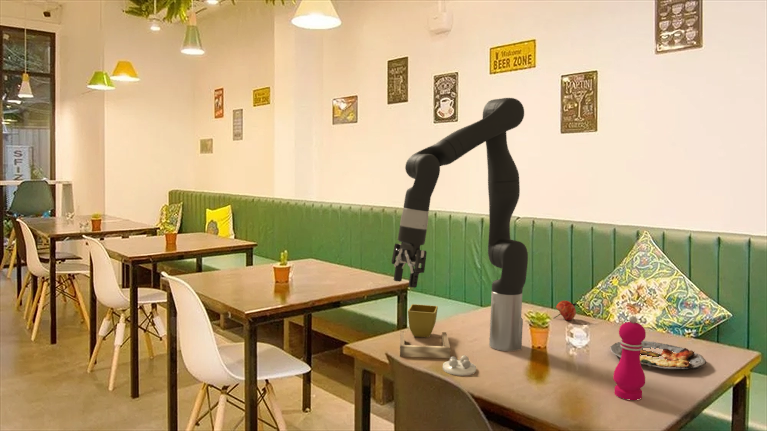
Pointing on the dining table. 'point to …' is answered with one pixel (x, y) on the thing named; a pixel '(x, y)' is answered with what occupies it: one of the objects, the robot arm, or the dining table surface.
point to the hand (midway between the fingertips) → (404, 284)
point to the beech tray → (425, 349)
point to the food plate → (666, 356)
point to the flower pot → (422, 319)
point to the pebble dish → (459, 366)
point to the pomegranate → (566, 309)
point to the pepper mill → (630, 361)
